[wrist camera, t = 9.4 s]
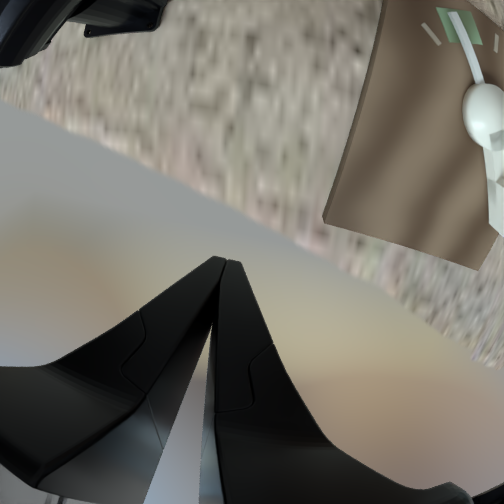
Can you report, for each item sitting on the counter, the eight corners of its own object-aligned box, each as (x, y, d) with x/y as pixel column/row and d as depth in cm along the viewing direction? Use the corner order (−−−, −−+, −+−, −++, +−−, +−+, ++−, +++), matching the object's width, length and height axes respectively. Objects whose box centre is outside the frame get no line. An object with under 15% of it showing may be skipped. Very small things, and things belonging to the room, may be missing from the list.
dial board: (322, 216, 20) (324, 223, 19) (389, -36, 8) (395, -42, 7) (472, 263, 20) (478, 271, 19) (536, 74, 9) (545, 76, 8)
